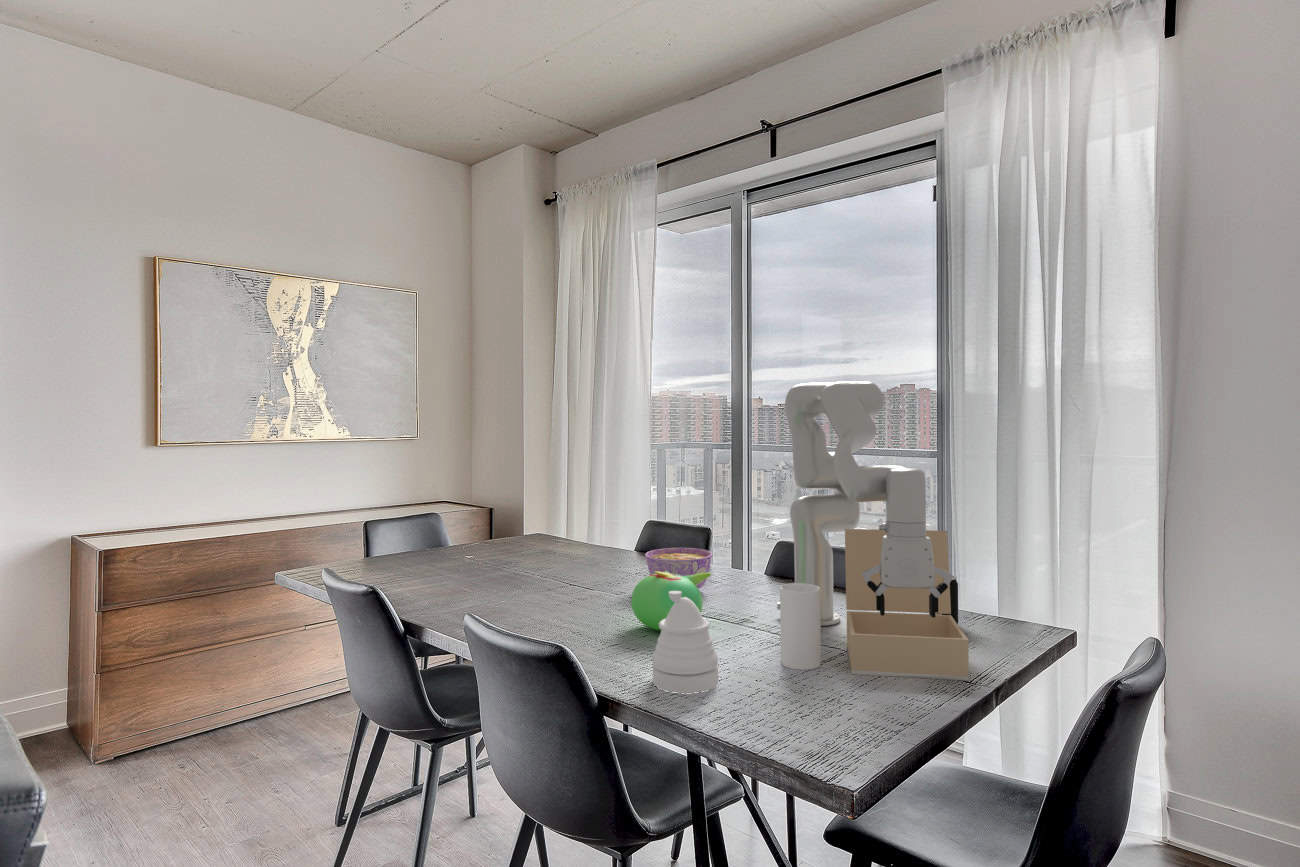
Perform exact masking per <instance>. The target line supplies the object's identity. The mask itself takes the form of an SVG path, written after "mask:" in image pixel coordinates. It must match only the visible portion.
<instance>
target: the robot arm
mask: <svg viewBox="0 0 1300 867" xmlns="http://www.w3.org/2000/svg"><path fill="white" fill-rule="evenodd" d="M884 400H885V399H884V395H883V392H882V390H881V389H880V387H879V386H878V385H877V384H876V383H874V382H871V381H866V380H865V381H864V380H863V381H836V382H807V383H800V384H799V383H798V384H796V385H794V386H792V387H791V388H790V389H789V390H788V391H787V394H786V397H785V402H784V410H785V411H784V412H785V417H786V420H787V423H788V426H789V429H790V430H789V431H790V434H791V441H792V442H791V443H792V445H791V446H792V448H791V449H792V463H793V475H794V481H795V483H796V486H797V487H798V488H800V489H801V490H809V491H812V490H813V491H817V490H818V491H819V490H821V491H822V490H833V493H834V494H812V495H811V494H810V495H803V496H800V497H798V498H796V499H795V500H794V501H793V502H792V503H791V505H790V508H789V516H790V521H791V522H790V524H791V527H792V533H793V549H794V550H793V551H794V555H793V556H794V583H805V584H812V585H816V586H818V587H820V627H826V626H832V625H835V624H838V623H839V622H841V616H840V614H838V613H836V612H834V554H833V553H834V551H833V547H832V545H831V544H830V543H829V541H828V540H827V538H826V537H825V535H824V534H826V533H838V532H845V529H855V528H856V527H857V526H858V525H859V521H860V517H861V516H860V513H861V512H860V510H861V508H860V503H869V502H885V512H886V513H885V514H886V518H885V519H886V520H885V522H884V523H879V524H878V530H879V531H885V532H886V533H887V535H885V536H883V540H882V547H881V556H880V564H878V565H875V566H873V567H871V568H869V569H867V570H865V571H863V572H862V576H863V578H864V580H865V581H866V583H867V585H868V587H869V588H870V589H871V590H872V591H873V592H874V593H875V594H876V609H877V610H880V611H879V612H880V614H881V616H884V615H885V613H886V611H885V599H884V595H883V592H884V591H885V590H886V589H887V588H888V587H890V588H911V589H929V591H930V592H931V594H930V595H929V613H928V614H930V615H931V617H933V618H935V612H938V597H940V595H941V594H942V593H943V592H944V591H945V590H946V589H947V588H948V585H949V584H950V582H951V580H952V578H953V576H954V575H953V574H951V573H950V572H949V573H948V572H946V571H944V570H942V569H940V568H938V567H936V566H934V558H933V549H932V543H931V539H930V538H929V537H927V536H926V530H927V520H926V519H927V516H926V515H927V510H926V509H927V508H926V506H927V505H926V503H927V501H926V499H927V496H926V492H927V491H926V486H927V485H926V474H925V472H924V470H922V469H919V468H915V467H914V468H912V467H911V468H909V467H905V466H901V465H898V464H897V465H895V464H893V465H891V464H890V465H888V464H887V465H882V464H881V465H861V466H859V465H858V463H857V461H856V460H855V458H854V456H853V453H855V452H857V451H859V450H861V449H863V448H864V447H867V445H869V444H871V442H872V441H873V440H874V439H875V437H876V435H877V431H878V430H877V426H876V423H875V422H874V420H873V419H872V418H873V417H876V416H879V414H880V413H881V412H882V410H883V408H884V403H885V401H884ZM817 417H818V418H821V417H822V418H823V417H824V418H827V419H828V421H829V422H830V424H831V426H832V429H833V430H834V432H835V434H836V436H837V438H838V440H839V441H838V443H837V445H836V447H835V450H834V451H828V448H827V435H826V432H825V430H824V429H823V427H822V425H821V424H820V422H819V421H817V420H816V418H817ZM878 572H880V579H881V582H880V583H879V584H878V585H876V584H875V583H874V582H873V581H872V580H871V578H870V577H871V576H872V575H874V574H876V573H878ZM935 573H936V574H938V575H940V576H942V577H943V580H942V582H941V583H940V584H939V585H938V586H937V587H936V588H935V587H934V584H935ZM776 605H777V608H776V609H777V611H778V610H779V611H780V601H777V604H776Z"/></svg>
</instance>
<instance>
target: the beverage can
mask: <svg viewBox="0 0 1300 867" xmlns="http://www.w3.org/2000/svg"><path fill="white" fill-rule="evenodd" d="M952 576H953V578H952V580H951V582H950V603H951V614H942V613H935V615H951V616H952V617H953V619H954V620H955V622H956V623H957V624H958V625H959V583H958V581H957V576H955V575H952Z"/></svg>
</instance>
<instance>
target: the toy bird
mask: <svg viewBox="0 0 1300 867" xmlns="http://www.w3.org/2000/svg"><path fill="white" fill-rule="evenodd" d="M655 573H656V574H653V575H650V574H649V575H647V576H645V577H644V578H642V579H641V580H640V581H638V583H636V586H635V587H634V589H633V591H632V594H631V600H630V602H631V603H630V604H631V609H632V611H633V615H634V616H635V618H636V619H637V620H638V621H639V622H640V623H641V624H643V625H644V626H646V627H648V628H650V629H652V630H655V631H659V632H661V629H660V628H659V623H660V621H661V620H663V619H666V617H667V615H668V613H669V611H670V609H671V608H672V606H673V605H674V604H675V602H673V601H672V600H671V599H670V597H669V592H670V591H681V592H682V595H681V598H683V597H687V598H688V599H690V600H691V601H693V603H694V604H695V605H696V606H697V608H698V609H699V611H700V613H701V614H702V611H703V597H702V593H701V591H700V588H699V589H698V587H697V586H696V584H698V583H699V582H701V581H703V580H704V579H706V578H707V579H708V578H709V577H710V576H712V573H711V572H708V573H700V574H694V575H689V576H681V575H679V574H673V573H669V572H667V571H665V572H659V571H655ZM707 579H706V580H707Z"/></svg>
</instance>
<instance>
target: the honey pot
mask: <svg viewBox="0 0 1300 867" xmlns="http://www.w3.org/2000/svg"><path fill="white" fill-rule="evenodd" d="M681 595H682V592H681V591H670V592H669V597H670V599H671V600H672V601H673V602H675V604H674V605H673V606H672V608H671V609H670V611H669V613H668V615H667V617H666V619H663V620H661V621H660V623H659V628H660V629H661V631H660V634H659V637H658V638H657V644H656V645H655V651H654V652H653V654H652V684H653V683H654V684H655V685H656V686H658V687H659V688H661V689H664V690H667V691H672V692H680V693H694V692H701V691H706V690H709V689H712V688H714V687H715V686H716V685H717V684H718V685H719V666H718V665H719V657H718V653H717V652H716V650H715V646H714V644H713V638H712V636H711V635H710V633H709V628H710V626H711V624H710V621H708V620H707V619H705V618H704V617H703V615H702V612H701V613H700V611H699V609H698V608H697V606H696V605H695V604H694V603H693V601H691V600H690V599H688V598H687V597H683V598H681ZM718 685H717V686H718ZM715 688H716V687H715ZM715 688H714V689H715ZM712 690H713V689H712Z"/></svg>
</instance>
